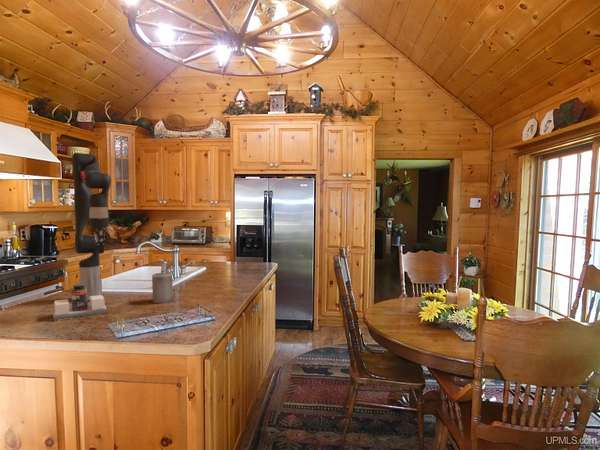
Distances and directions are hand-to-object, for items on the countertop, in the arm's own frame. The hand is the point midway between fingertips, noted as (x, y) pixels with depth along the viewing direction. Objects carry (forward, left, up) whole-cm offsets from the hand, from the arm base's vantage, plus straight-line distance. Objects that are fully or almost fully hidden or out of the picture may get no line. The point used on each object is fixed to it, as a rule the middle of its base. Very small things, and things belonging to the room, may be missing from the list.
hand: (100, 252), depth 164 cm
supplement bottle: (+7, -5, -26) cm, 27 cm away
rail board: (+7, -5, -27) cm, 29 cm away
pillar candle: (-22, +17, -28) cm, 39 cm away
